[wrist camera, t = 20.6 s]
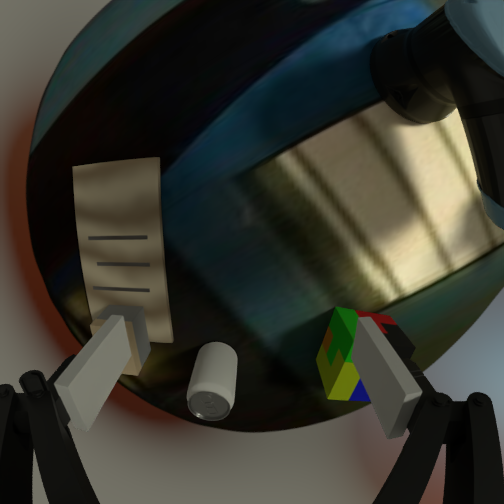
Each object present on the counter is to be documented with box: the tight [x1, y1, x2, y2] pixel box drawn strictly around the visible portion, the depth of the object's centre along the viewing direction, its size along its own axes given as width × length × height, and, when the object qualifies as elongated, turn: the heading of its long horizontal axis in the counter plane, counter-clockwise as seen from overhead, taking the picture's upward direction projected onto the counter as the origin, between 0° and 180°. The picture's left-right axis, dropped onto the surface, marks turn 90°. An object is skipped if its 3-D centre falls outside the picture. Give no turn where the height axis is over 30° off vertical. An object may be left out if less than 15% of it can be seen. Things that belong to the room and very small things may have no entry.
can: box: [187, 342, 237, 421], centre depth 41 cm, size 6×6×12 cm
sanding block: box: [90, 305, 151, 376], centre depth 41 cm, size 8×6×7 cm
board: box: [73, 157, 174, 343], centre depth 42 cm, size 28×14×1 cm, turn 0°
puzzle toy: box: [316, 307, 416, 401], centre depth 41 cm, size 10×10×10 cm
